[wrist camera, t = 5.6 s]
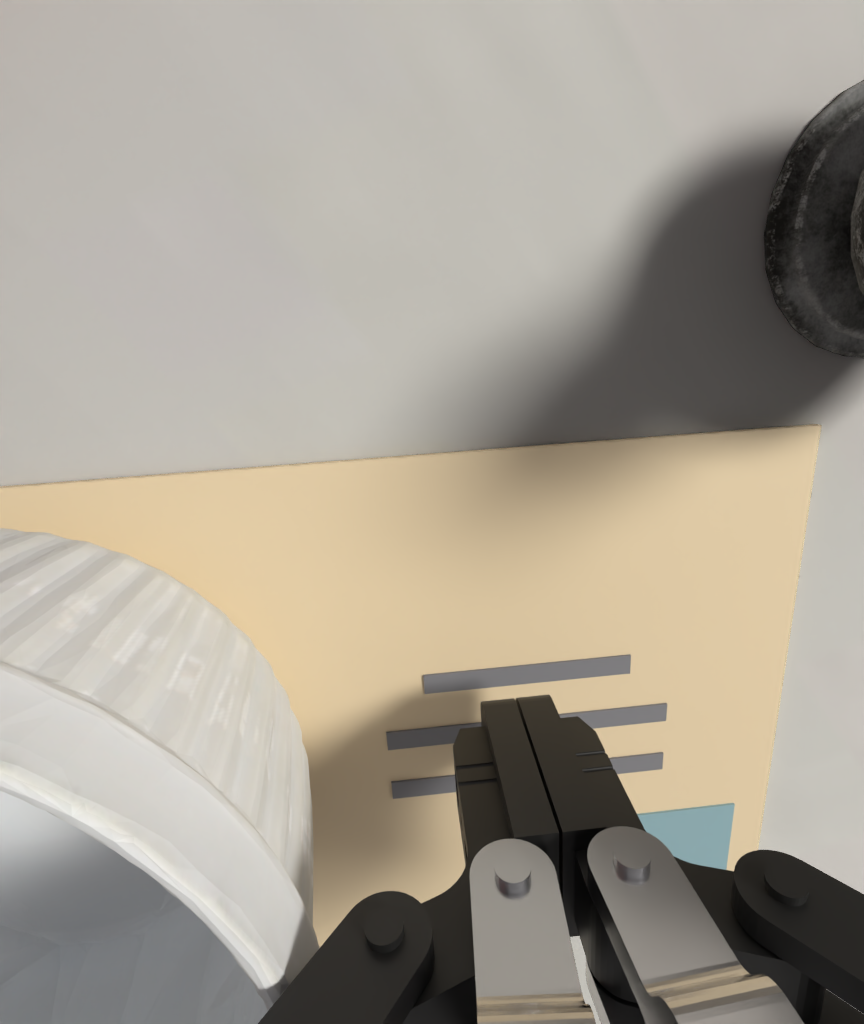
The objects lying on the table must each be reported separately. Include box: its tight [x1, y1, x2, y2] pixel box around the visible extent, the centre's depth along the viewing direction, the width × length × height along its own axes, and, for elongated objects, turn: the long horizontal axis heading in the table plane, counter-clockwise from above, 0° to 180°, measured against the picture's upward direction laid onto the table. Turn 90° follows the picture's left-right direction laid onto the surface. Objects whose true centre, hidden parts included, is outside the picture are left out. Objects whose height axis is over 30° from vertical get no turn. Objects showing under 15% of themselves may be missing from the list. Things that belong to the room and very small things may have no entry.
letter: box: [0, 424, 821, 947], centre depth 15 cm, size 14×18×1 cm
